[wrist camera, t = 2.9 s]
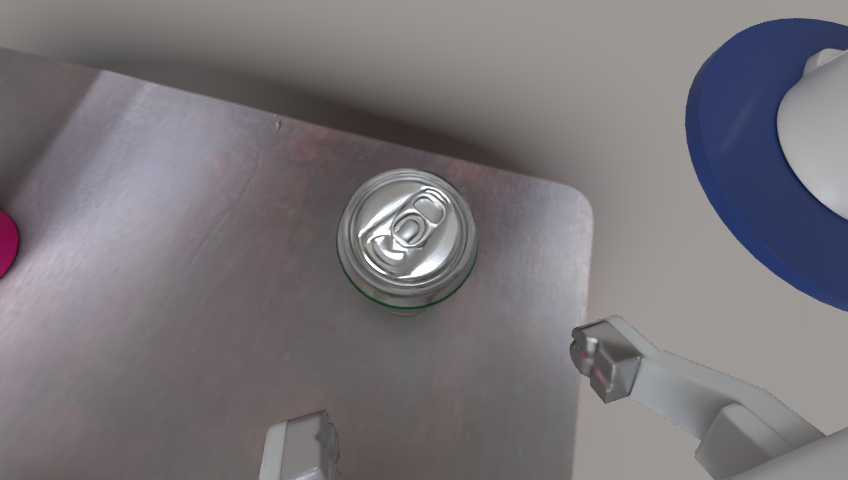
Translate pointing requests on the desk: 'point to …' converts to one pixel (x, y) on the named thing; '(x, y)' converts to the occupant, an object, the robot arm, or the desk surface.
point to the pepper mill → (7, 242)
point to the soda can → (407, 240)
